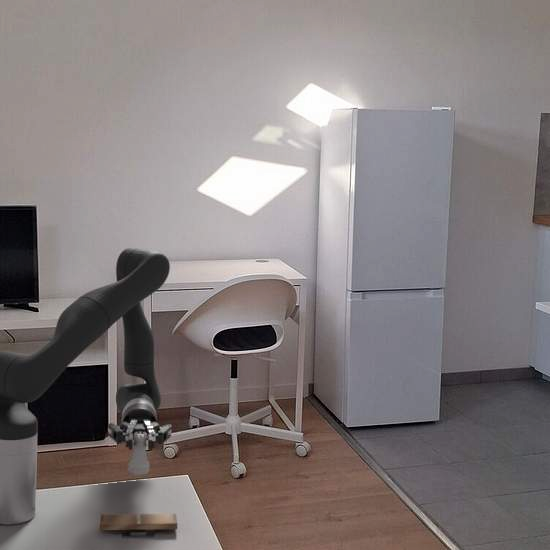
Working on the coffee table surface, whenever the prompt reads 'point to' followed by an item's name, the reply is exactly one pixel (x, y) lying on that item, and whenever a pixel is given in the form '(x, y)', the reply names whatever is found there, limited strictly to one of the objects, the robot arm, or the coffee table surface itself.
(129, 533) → the fulcrum
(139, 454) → the rook chess piece
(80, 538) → the coffee table surface
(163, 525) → the beam
